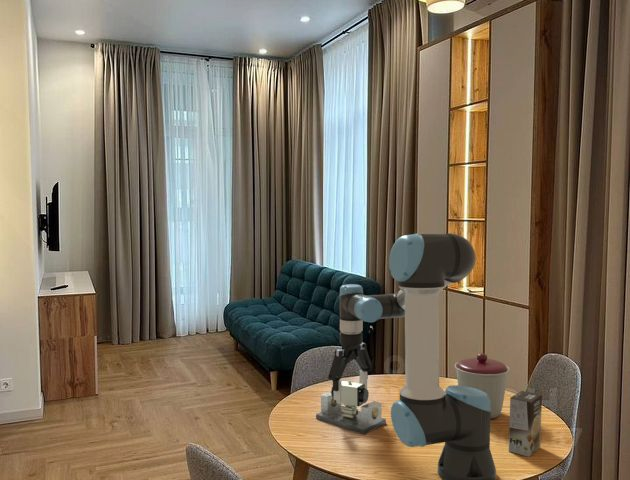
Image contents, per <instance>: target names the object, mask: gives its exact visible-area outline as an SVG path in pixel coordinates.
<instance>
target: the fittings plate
mask: <svg viewBox="0 0 630 480" xmlns="http://www.w3.org/2000/svg"><path fill="white" fill-rule="evenodd" d="M345 406H346V405H342V404H341V403H335V400H334V397H332V395H331V390H329V391H328V392H326V393H321V395H320V412H317V413H316V414H315V418H316V420H319V421H323V422H326V423H329V424H332V425H335V426H337V427H341V428H344V429H346V430H350V431H352V432H355V433H358V434H362V435H365V434H367V433H369V432H371V431H373V430H375V429H377V428H380V427H383V426H384V425H385V424H386V423H387V419H386V418H384V417H382V406H383V405H382V402H379V401H375V400H373V401H371V402H367V403H365V404H362V405H361V406H360V410H358V415H357V416H355V417H354V418H347V417H343V416H342V415H343V414H342V412H341V409H342V407H345Z"/></svg>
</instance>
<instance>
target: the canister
mask: <svg viewBox="0 0 630 480" xmlns="http://www.w3.org/2000/svg"><path fill="white" fill-rule="evenodd" d="M454 369H456V379H457V380H456V381H457V385H458V386H466V387H471V388H475V389H478V390H481V391H483V392H485V393H486V394H487V395H488V396H489V398H490V405H491V415H490V420H491V419H495V418H498V416H500V415H501V413H502V410H503V406H504V400H505V394H506V388H507V386H506V385H507V378H508V374H509V372H510V370H511V369H510V367H509V366H507V365H506V364H505V363H503V362H501V361H499V360H495V359H493V358H492V359H491V358H488V356H487V354H486V353H483V352H479V353H477V355H476V357H467V358H463V359H461V360H459V361H457V362H455V364H454Z"/></svg>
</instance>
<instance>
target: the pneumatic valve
mask: <svg viewBox="0 0 630 480" xmlns="http://www.w3.org/2000/svg"><path fill="white" fill-rule="evenodd" d="M341 381H342V388H341V401H337V400H335V403H341V405H342V404H343V406H345V407H342V409H341V412H342V414H343V415H342V416H343V417H347V418H354V417H355V416H357V415H358V411H359V410H358V407H361V406H363V405H365V404H367V403H368V400H369V396H370V395H369V390H368V388H367V389H366V387H365V384H360V383H358V382H353V381H352V380H348V381H347V380H341ZM330 391H331V395H332V397H334V391H333V386H332V387H331V390H330Z"/></svg>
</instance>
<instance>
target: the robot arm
mask: <svg viewBox="0 0 630 480" xmlns="http://www.w3.org/2000/svg"><path fill="white" fill-rule="evenodd" d="M476 258H477V257H476V252H475V249H474V247H473V245H472V244H471V241H469V240H468V239H466V238H465V237H464V236H463V235H460V234H457V233H452V232H451V233H413V234H406V235H402V236H400V237H398V238H397V239H396V240H395V242H394V243H393V245H392V247H391V250H390V252H389V260H388V266H389V271H390V275H391V277H392V279H394V280H395V281H397V282H398V288H399V289H400V290H398V291H397V292H396V293H395V292H394V293H385V294H371V295H370V294H369V295H365V294H364V289H363V286H362V285H360V284H354V283H353V284H352V283H349V284H342V285H341V286H340V287H339V298H338V299H339V331H340V332H339V344H340V345H341V349H338V348H337V349H335V350H334V357H333V360H332V362H331V366H330V369H329V373H328V377H327V379H328V380H329V381H332V387H333V391H334V400H337V401H341V388H342V381H343V380H341V378H342V376H343V374H344V372H345V371H346V367H347V365H348V364H350V363H351V361H354V360H355V362H356V363H357V365H358V367H359V368H360V370H359V383H360V384H365V387H366V389H367V390H368V380H369V379H368V378H369V377H368V376H369V375H368V374H369V373H370V372H371V370H372V368H373V365H372V361H371V358H370V356H369V353H368V352H369V351H368V348H367V343H365V342H363V328H364V326H363V323H364V322H367V323H375V322H376V321H378V320H381V319H394V318H395V319H396V318H404V358H405V359H404V360H405V361H404V363H405V364H404V365H405V366H404V370H405V371H404V372H405V374H404V375H405V384H404V386H403V387H402V388H401V389H399V399H398V400H396V401H394V402H393V403H392V405H391V408H390V418H391V423H392V426H393V431H394V432H395V433H396V435H397V437H398V439H399V441H400V442H401V443H402V444H404V446H406V447H408V448H415V447H416V448H417V447H422V448H423V447H426V446H431V445H437V444H443V443H444V445H443V447H442V450H441V454H440V456H439V458H438V462H437V474H438V476H439V477H440V478H441V479H443V480H496V478H497V468H496V464H495V461H494V459H493V454H492V452H491V449H490V447H491V446H490V445H491V443H490V442H491V419H490V415H491V405H490V398H489V396H488V395H487V394H486V393H485V392H483V391H481V390H478V389H475V388H471V387H466V386H458V384H457V385H448V386H447V387H446V388H445V390H444V389H443V388H442V387H441V386H440V333H439V332H440V327H439V326H440V322H439V321H440V319H439V318H440V313H439V310H440V309H439V306H440V305H439V303H440V302H439V299H440V298H439V296H440V295H439V294H440V292H441V291H442V290H444V289H445V288H446V287H448V285H449V286H450V285H451V284H457V283H459V282H460V281H462V280H464V279H465V278H467V277H468V276H469V275H471V272H472V271H473V269H474V268H475V265H476Z"/></svg>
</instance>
